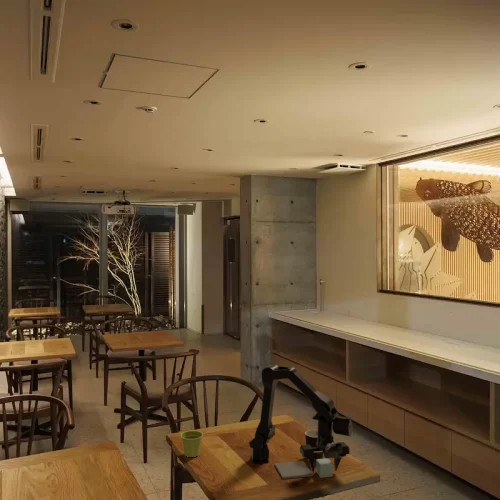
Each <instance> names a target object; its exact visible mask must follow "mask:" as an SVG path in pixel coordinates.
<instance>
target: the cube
mask: <svg viewBox="0 0 500 500" xmlns="http://www.w3.org/2000/svg"><path fill="white" fill-rule="evenodd" d="M333 471H334V462H332V461H331V459H330V458H322V459H316V460H315V472H316V474H317V475H318V476H319V477H320V478H330V477H334V476H333V474H334V472H333Z"/></svg>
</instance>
